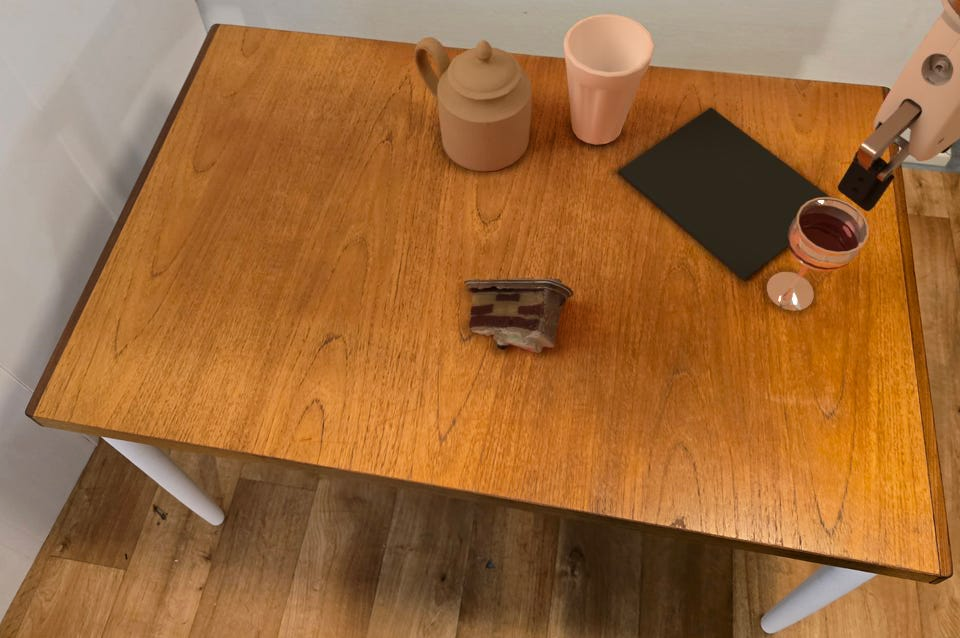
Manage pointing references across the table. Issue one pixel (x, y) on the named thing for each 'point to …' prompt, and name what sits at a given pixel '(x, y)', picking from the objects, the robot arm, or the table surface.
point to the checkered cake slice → (518, 310)
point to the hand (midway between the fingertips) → (892, 170)
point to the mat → (723, 190)
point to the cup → (604, 73)
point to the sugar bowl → (478, 103)
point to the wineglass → (818, 247)
